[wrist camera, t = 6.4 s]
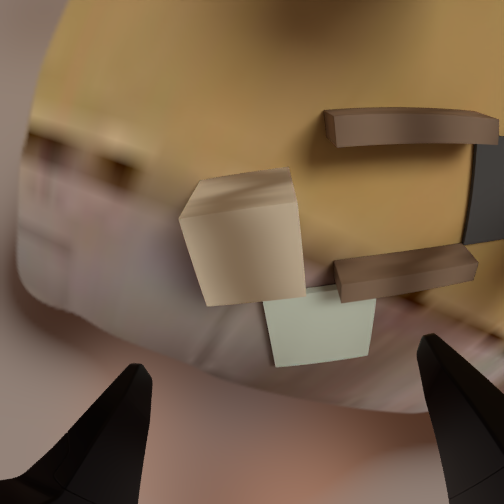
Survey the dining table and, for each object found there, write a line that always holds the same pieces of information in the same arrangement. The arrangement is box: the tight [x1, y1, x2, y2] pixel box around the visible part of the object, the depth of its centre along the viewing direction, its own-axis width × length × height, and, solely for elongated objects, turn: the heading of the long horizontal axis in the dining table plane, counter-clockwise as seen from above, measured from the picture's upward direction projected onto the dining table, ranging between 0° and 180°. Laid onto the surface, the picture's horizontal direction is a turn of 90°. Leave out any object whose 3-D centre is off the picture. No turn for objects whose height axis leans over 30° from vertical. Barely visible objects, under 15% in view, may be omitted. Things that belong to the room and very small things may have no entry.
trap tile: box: [462, 136, 504, 245], centre depth 16 cm, size 5×8×1 cm, turn 10°
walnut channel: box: [324, 107, 499, 303], centre depth 16 cm, size 10×11×2 cm
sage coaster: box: [263, 284, 376, 367], centre depth 22 cm, size 8×8×1 cm
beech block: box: [179, 167, 306, 307], centre depth 16 cm, size 5×5×5 cm
